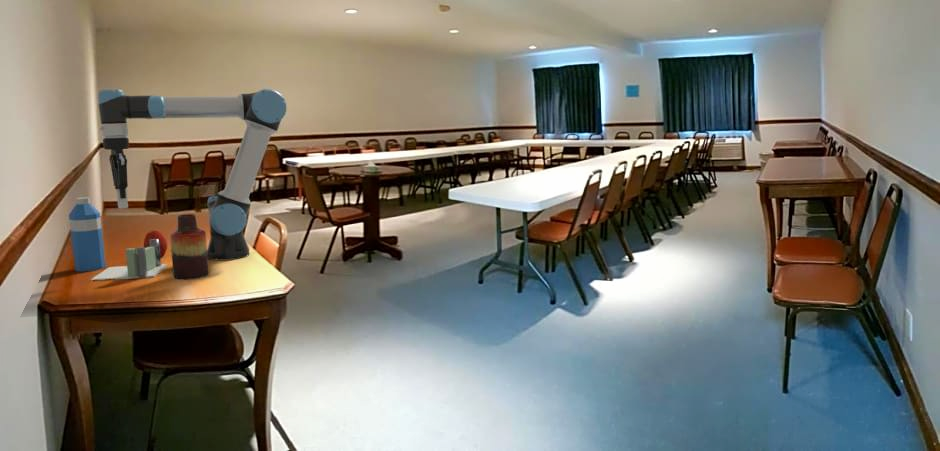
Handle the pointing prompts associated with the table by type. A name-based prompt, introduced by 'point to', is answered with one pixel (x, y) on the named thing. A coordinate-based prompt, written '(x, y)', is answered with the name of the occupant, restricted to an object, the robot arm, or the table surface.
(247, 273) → the table surface
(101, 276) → the board
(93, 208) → the water bottle
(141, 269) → the stop post
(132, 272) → the gate
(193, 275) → the vase
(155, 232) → the apple
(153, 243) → the hinge post
